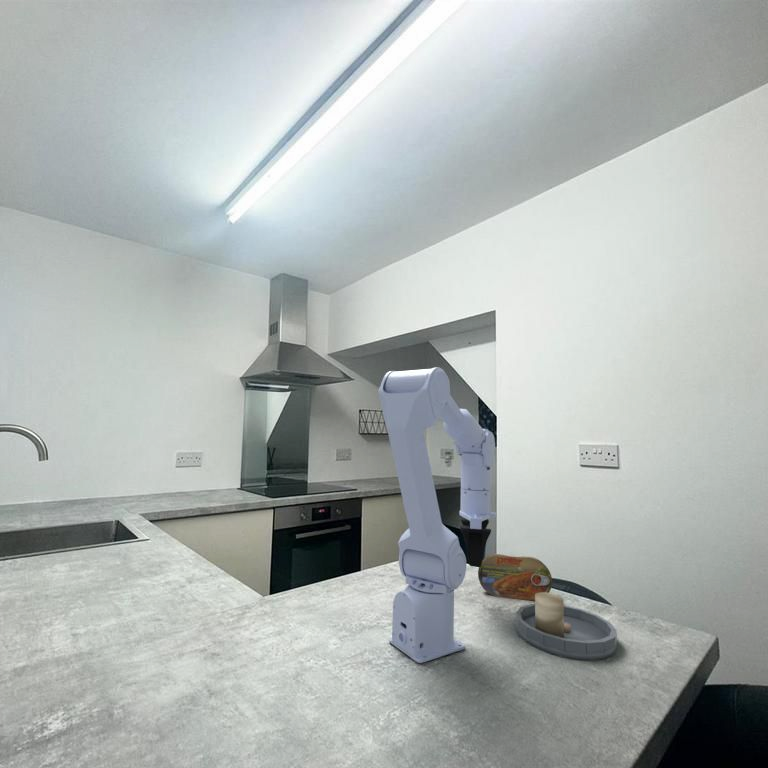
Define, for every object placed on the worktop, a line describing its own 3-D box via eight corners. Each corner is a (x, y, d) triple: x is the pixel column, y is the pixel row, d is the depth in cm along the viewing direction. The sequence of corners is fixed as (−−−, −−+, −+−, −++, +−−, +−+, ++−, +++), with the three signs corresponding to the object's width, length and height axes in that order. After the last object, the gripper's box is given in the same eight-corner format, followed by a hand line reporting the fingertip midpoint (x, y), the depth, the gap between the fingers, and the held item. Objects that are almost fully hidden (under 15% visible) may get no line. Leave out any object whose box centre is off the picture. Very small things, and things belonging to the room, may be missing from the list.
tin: (477, 594, 90) (478, 553, 91) (478, 589, 93) (478, 550, 94) (552, 603, 86) (552, 560, 87) (550, 598, 89) (550, 557, 90)
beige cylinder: (552, 644, 66) (552, 603, 67) (529, 632, 70) (529, 594, 71) (569, 638, 69) (569, 599, 69) (546, 627, 72) (546, 590, 73)
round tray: (581, 670, 61) (580, 651, 61) (497, 628, 73) (497, 613, 74) (635, 645, 69) (634, 628, 69) (551, 611, 82) (551, 598, 82)
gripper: (498, 494, 76) (498, 573, 74) (493, 486, 90) (493, 552, 88) (459, 492, 77) (458, 569, 75) (460, 484, 91) (459, 550, 89)
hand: (474, 560), depth 82 cm, fingers open, 7 cm apart
